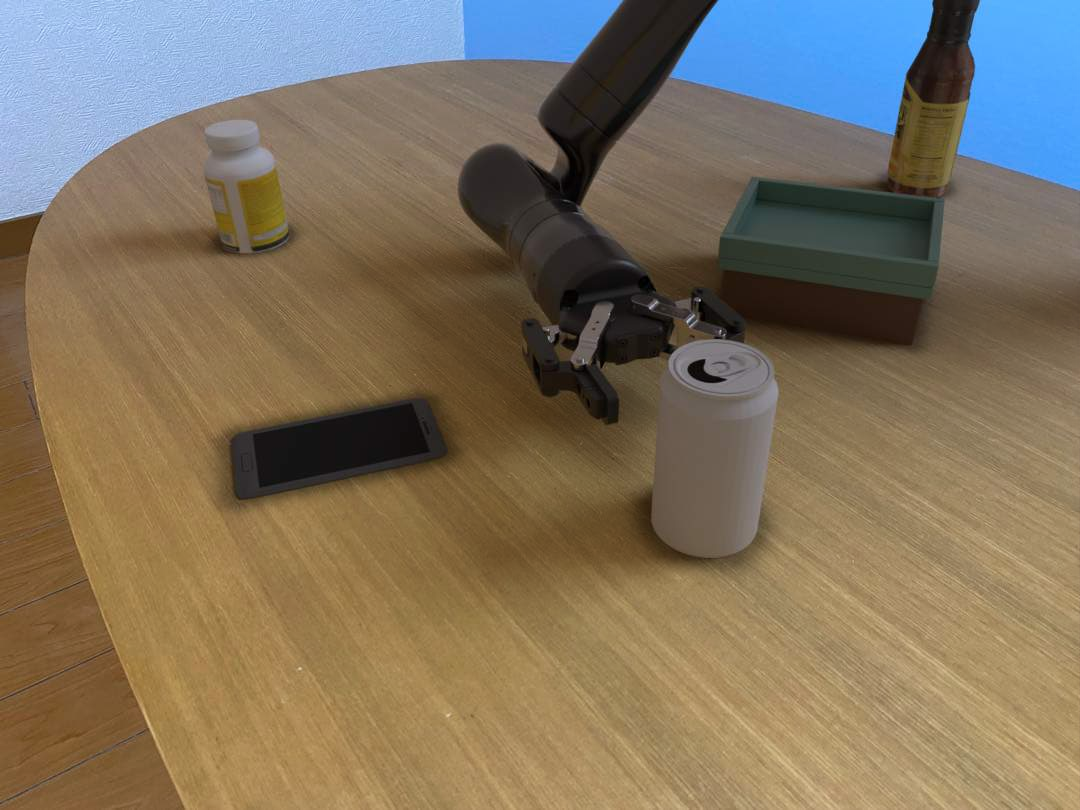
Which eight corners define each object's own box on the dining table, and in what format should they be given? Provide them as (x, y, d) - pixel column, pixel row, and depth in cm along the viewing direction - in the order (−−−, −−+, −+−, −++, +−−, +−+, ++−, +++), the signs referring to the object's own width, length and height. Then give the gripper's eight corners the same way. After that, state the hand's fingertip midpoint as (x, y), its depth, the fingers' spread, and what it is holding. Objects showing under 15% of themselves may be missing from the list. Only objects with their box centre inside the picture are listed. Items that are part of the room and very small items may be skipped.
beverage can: (631, 512, 59) (639, 349, 52) (720, 484, 61) (738, 324, 54) (684, 580, 54) (700, 411, 47) (778, 547, 56) (806, 380, 49)
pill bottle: (303, 236, 93) (282, 120, 86) (264, 264, 88) (238, 143, 81) (249, 227, 95) (224, 113, 88) (208, 254, 90) (178, 135, 83)
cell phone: (231, 442, 65) (229, 433, 65) (427, 403, 69) (426, 395, 68) (237, 509, 60) (235, 500, 59) (451, 463, 63) (450, 454, 62)
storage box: (925, 282, 82) (945, 198, 78) (916, 357, 72) (938, 266, 68) (742, 256, 87) (751, 175, 83) (711, 323, 77) (719, 236, 73)
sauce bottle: (895, 175, 102) (935, -22, 90) (954, 188, 99) (1004, -15, 87) (874, 196, 98) (913, -8, 86) (935, 209, 95) (984, -1, 83)
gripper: (488, 250, 65) (568, 369, 53) (674, 218, 69) (791, 322, 56) (493, 342, 70) (569, 472, 57) (668, 307, 73) (776, 423, 61)
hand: (679, 398), depth 57 cm, fingers open, 8 cm apart
